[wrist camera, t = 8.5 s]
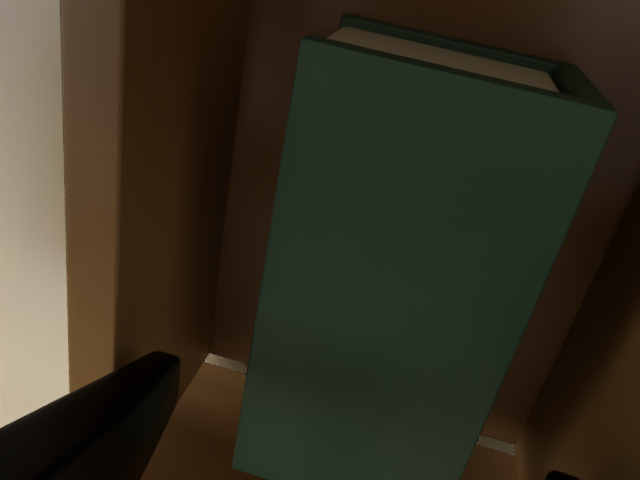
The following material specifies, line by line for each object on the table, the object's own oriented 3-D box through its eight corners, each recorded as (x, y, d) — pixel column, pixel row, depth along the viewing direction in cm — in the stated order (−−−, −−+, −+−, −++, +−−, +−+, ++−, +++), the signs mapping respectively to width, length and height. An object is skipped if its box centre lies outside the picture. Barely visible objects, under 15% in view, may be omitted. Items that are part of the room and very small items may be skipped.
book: (443, 414, 14) (437, 535, 11) (277, 364, 14) (230, 468, 11) (577, 65, 10) (621, 112, 7) (345, 12, 10) (299, 37, 8)
